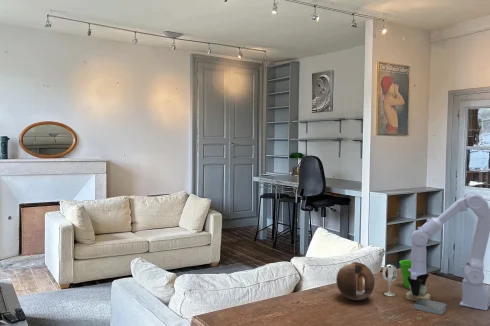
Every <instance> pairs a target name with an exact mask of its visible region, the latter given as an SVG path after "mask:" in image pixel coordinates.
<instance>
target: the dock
mask: <svg viewBox="0 0 490 326" xmlns="http://www.w3.org/2000/svg"><path fill="white" fill-rule="evenodd" d="M447 309H448V304H447V303H446V302H440V301H436V300H431V299H430V300H427V299H422V298H419V299H418V300H417V301H415V302H413V310H417V311H422V312H426V313H427V312H428V313H431V314H436V315H440V316H443V314H444V313H445V312H446V311H447Z"/></svg>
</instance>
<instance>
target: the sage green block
mask: <svg viewBox="0 0 490 326" xmlns="http://www.w3.org/2000/svg"><path fill="white" fill-rule="evenodd" d="M419 298H422V299H427V300H431V294H430V293H428V285H426V284H425V285H421V286H420V290H419V295H418V296H415V295H413V294H412V290H411V286H410V288H409V291H407V293H405V299H406V300H411V301H415V302H416V301H417V300H418V299H419Z"/></svg>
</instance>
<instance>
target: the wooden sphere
mask: <svg viewBox="0 0 490 326" xmlns="http://www.w3.org/2000/svg"><path fill="white" fill-rule="evenodd" d="M335 280H336V281H335V282H336V286H337V288H338V290H339V292H340V293H341V294H342V295H343V296H344V297H345V298H346V299H348V300H351V301H362V300H365V299H366V298H368V297H370V295H371V294H372V293H373V291H374V289H375V277H374V273H373V272H372V270H371V269H370V268H369V267H368V266H367V265H365V264H364V263H361V262H357V261H352V262H351V261H350V262H348V263H346V264H343V265H342V266H341V267H340V268H339V270H338V271H337V274H336V279H335Z"/></svg>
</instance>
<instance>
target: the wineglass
mask: <svg viewBox="0 0 490 326" xmlns="http://www.w3.org/2000/svg"><path fill="white" fill-rule="evenodd" d="M397 277H398V270H397V266H396V265H394V264H385V265H384V266H383V268H382V278H383V279H384V280H386V281H387V282H388V292H384V293H383V295H385V296H387V297H395V296H396V294H395V293H393V292H391V286H392V283H391V282H394V281H396V280H397Z"/></svg>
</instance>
